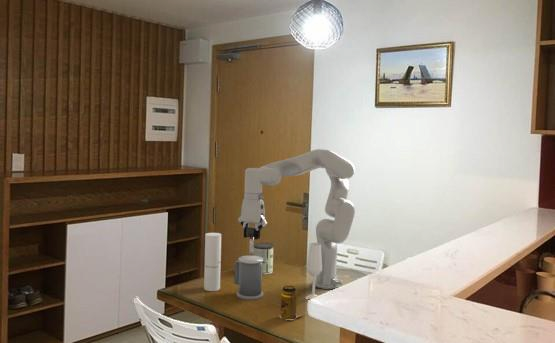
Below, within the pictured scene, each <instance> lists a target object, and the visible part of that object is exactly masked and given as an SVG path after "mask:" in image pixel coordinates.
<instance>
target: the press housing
mask: <svg viewBox="0 0 555 343" xmlns="http://www.w3.org/2000/svg"><path fill="white" fill-rule="evenodd" d="M262 262H263V258H262V257H259V256H254V255H242V256H239V257H238V260H235V261H234V274H233V275H234V277H233V278H234V279H233V284H234V285H238V290H237V291H236V297H237V298H239V299H242V300H247V301H251V300H252V301H253V300H254V301H255V300H260V299H262V298H263V297H264V292H263V290H262V288H263V287H262V286H263V285H262V284H263V274H262Z"/></svg>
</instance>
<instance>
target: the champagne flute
mask: <svg viewBox="0 0 555 343" xmlns="http://www.w3.org/2000/svg"><path fill="white" fill-rule="evenodd" d="M306 265H307V266H306V272H308V274H309V275H310V276H311V277H312V282H313V284H312V283H311V284H312V289H311V294H309V295H307V296H305V299H306V300H308V299H309V298H310V299H311V298H313V297H315V296H318V295H317V294H315V293H316V287H315V280H316V276H317V275H319V274H320V273H321V271H322V256H321V244H319V243H317V242H311V243H309V250H308V258H307V264H306Z"/></svg>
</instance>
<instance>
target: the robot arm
mask: <svg viewBox="0 0 555 343" xmlns="http://www.w3.org/2000/svg"><path fill="white" fill-rule="evenodd" d="M317 169H324V170H325V172H326V174H327V176H328V178H329V181H330V190H329V193H328V195H327V196H328V197H327V199H326V203H325V205H324V206H325V207H324V212H325V214H326V215H327V216H329V217H331V218H333V219H334V220H332V219H329V218H324V219H321V220H319V221H318V222H317V224H316V226H315V236H316V243H319V244H321V256H322V271H321V273H320V274H319V275H317V276H316V277H315V288H318V289H325V290H332V289H337V288H338V287H339V286H343V285H344V280H343V279H339V276H338V275H337V265H338V264H337V263H338V262H337V261H338V259H337V258H338V244H342V243H344V242H345V241H346V240H347V239H348V236H349V234H350V232H351V228H352V225H353V221H354V218H355V213H356V211H355V210H356V209H355V206H354V204H353V202H352V201H350V200H348V194H349V190H350V189H349V188H350V185H349V184H350V183H349V180H348V179H351V178H353V176H354V174H355V171H356V170H355V166H354V164H353V162H351V161H350V160H348V159H346V158H345V157H343V156H341V155H339V154H338V153H336V152H334V151H332V150H329V149H322V148H321V149H320V148H317V149H313V150H310V151H308V152H305V153H302V154H299V155H297V156H293V157H289V158H285V159H282V160H278V161H275V162H270V163H268V164H265V165H263V166H261V167H249V168H248V167H247V168H246V169H245V172H244V197H243V199H242V204H241V208H240V209H241V211H240V215H239V216H238V218H237V221H238V222H239V223H240V225H241V226H242V229H243V238H244V239H245V238H248V237H247V236H246V227H250V223H251V224H254V225H255V226H254V227H256V230H255V237H254V241H255V240H259V239H261V238H260V237H261V230H262V229H263V228H264V227H266V225H268V222H267V220H266V211H265V210H266V209H265V203H264V200H263V199H264V198H265V196H264V194H263V185H264V186H276V185H278V184H280V183H281V180H282V177H296V176H301V175H303V174H306V173H309V172H311V171H314V170H317ZM311 284H313V281H312V282H311Z"/></svg>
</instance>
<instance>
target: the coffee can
mask: <svg viewBox="0 0 555 343" xmlns="http://www.w3.org/2000/svg"><path fill="white" fill-rule="evenodd" d="M253 256H259V257H262V258H263V262H262V275H270V274H272V273H273V272H274V271H273V268H274V244H273V243H270V242H269V243H268V242H256V243H253Z"/></svg>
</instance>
